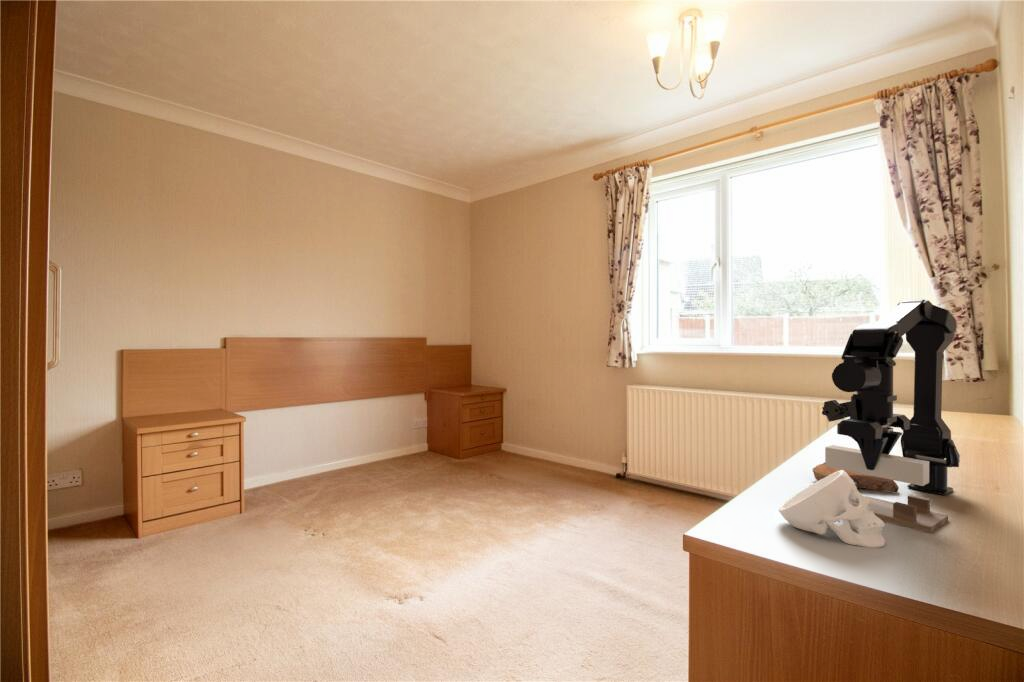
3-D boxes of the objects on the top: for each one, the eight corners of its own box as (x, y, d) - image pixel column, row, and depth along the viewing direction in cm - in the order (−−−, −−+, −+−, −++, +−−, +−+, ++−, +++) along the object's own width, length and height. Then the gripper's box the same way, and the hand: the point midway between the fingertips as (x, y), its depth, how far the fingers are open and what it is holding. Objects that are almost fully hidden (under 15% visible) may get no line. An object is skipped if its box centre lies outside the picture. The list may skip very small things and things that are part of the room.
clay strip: (832, 463, 101) (832, 445, 101) (929, 482, 88) (929, 461, 88) (825, 466, 99) (825, 447, 99) (922, 486, 86) (922, 464, 86)
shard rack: (828, 491, 105) (828, 476, 105) (948, 520, 88) (948, 502, 88) (807, 500, 99) (807, 483, 99) (930, 533, 83) (930, 513, 83)
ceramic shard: (801, 451, 122) (866, 463, 119) (798, 476, 121) (864, 489, 118) (827, 457, 107) (902, 471, 104) (824, 486, 107) (899, 501, 104)
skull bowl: (898, 551, 72) (846, 475, 77) (808, 574, 80) (765, 505, 84) (900, 529, 80) (853, 462, 85) (818, 552, 88) (778, 490, 92)
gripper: (848, 383, 105) (847, 453, 106) (808, 388, 95) (807, 466, 95) (910, 388, 96) (910, 464, 96) (874, 394, 86) (874, 480, 86)
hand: (874, 468), depth 94 cm, fingers closed on clay strip, 3 cm apart
